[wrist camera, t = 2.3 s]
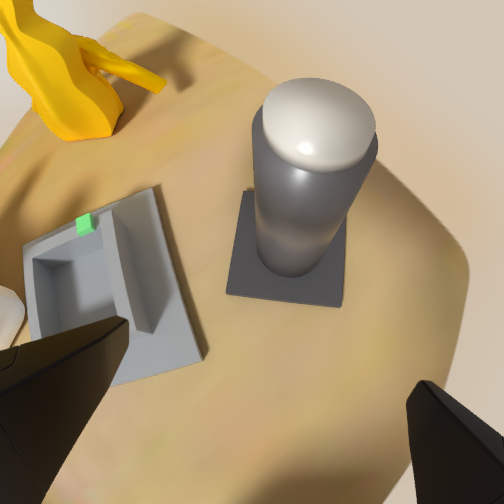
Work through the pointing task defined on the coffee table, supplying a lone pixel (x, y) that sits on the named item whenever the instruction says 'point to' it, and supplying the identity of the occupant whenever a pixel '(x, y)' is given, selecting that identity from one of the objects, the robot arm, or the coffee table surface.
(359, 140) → the grey cylindrical piece
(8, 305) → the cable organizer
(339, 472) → the coffee table surface
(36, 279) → the port
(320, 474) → the coffee table surface
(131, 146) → the coffee table surface
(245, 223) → the pad
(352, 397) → the coffee table surface
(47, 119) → the figure statuette
